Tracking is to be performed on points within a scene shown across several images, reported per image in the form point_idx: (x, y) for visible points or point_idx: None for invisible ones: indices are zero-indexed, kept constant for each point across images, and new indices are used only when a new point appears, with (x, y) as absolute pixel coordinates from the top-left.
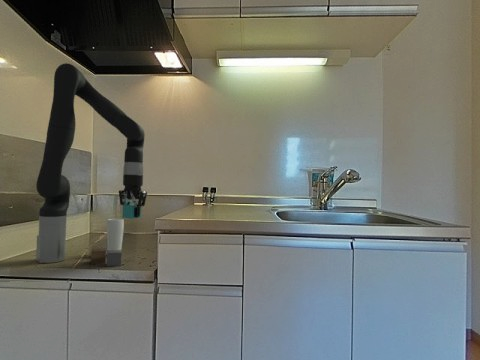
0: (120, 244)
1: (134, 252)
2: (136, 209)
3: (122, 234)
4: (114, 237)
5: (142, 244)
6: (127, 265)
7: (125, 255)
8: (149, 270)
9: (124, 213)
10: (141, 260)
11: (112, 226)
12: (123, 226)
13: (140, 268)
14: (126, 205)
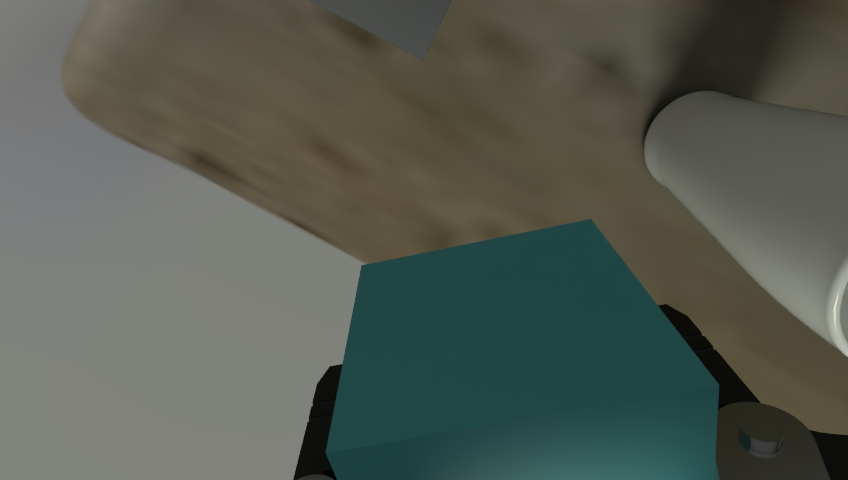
0: (676, 190)
1: (646, 282)
2: (325, 459)
3: (722, 245)
4: (730, 151)
5: (813, 430)
6: (310, 44)
7: (611, 191)
8: (87, 90)
9: (556, 268)
10: (393, 197)
11: (837, 167)
12: (775, 299)
13: (173, 71)
14: (547, 409)
